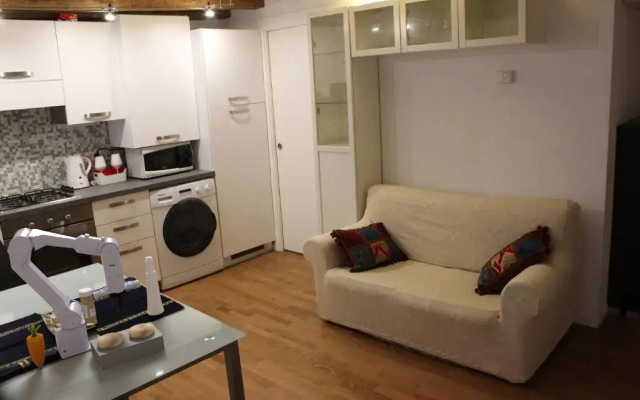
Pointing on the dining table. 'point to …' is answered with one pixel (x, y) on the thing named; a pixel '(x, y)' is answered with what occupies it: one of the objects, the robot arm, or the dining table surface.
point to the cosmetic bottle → (152, 289)
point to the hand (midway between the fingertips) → (120, 312)
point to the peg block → (127, 349)
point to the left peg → (110, 341)
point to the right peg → (141, 331)
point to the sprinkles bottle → (88, 305)
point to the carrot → (36, 346)
